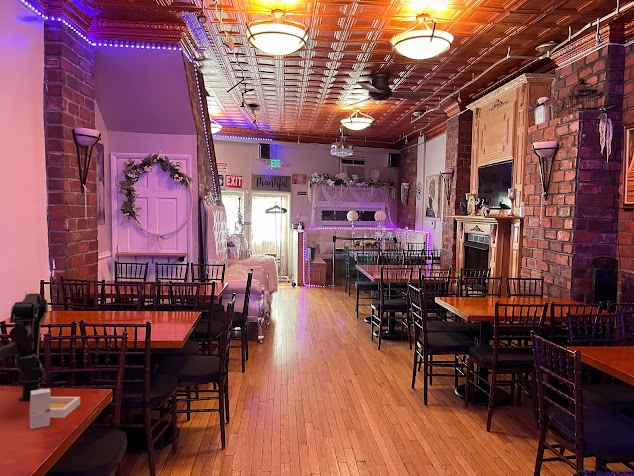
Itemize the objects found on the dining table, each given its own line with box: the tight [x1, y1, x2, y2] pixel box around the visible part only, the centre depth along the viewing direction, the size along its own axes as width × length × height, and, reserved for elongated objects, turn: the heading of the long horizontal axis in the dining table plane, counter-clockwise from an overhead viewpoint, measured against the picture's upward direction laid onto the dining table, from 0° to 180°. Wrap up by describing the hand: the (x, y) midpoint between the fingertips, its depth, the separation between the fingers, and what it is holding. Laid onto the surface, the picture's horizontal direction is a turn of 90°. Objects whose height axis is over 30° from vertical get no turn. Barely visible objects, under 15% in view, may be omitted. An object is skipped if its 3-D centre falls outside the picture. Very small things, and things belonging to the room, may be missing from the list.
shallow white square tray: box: [50, 396, 81, 419], centre depth 176 cm, size 12×12×3 cm
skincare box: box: [29, 387, 52, 430], centre depth 163 cm, size 6×4×12 cm
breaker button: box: [50, 403, 67, 408], centre depth 176 cm, size 8×8×1 cm
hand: (24, 377), depth 174 cm, fingers open, 9 cm apart
